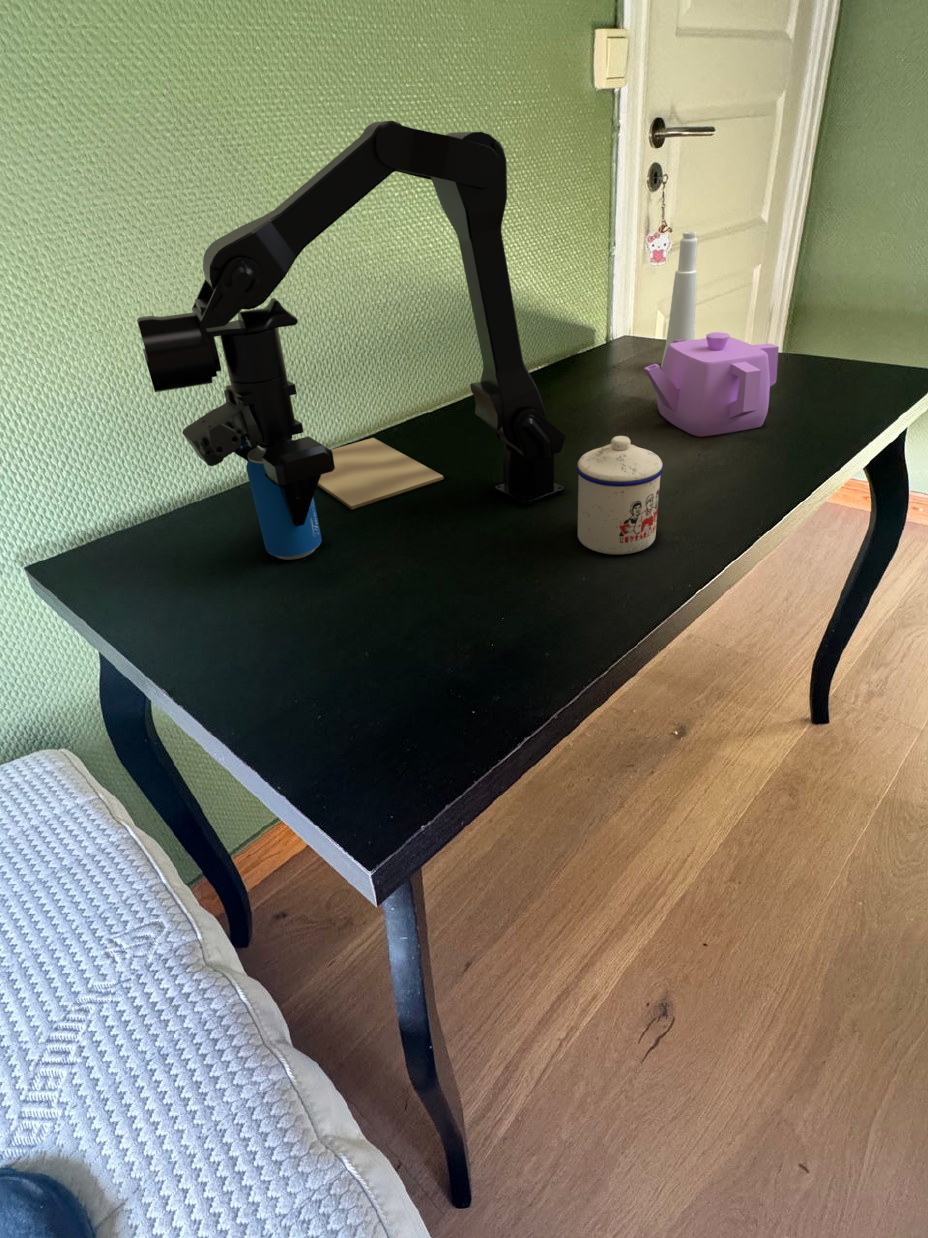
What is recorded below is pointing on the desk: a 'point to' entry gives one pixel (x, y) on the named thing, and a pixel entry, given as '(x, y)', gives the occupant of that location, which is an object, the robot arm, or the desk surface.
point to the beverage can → (280, 515)
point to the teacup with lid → (618, 497)
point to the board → (373, 473)
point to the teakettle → (715, 384)
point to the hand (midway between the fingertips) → (286, 513)
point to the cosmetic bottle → (684, 293)
